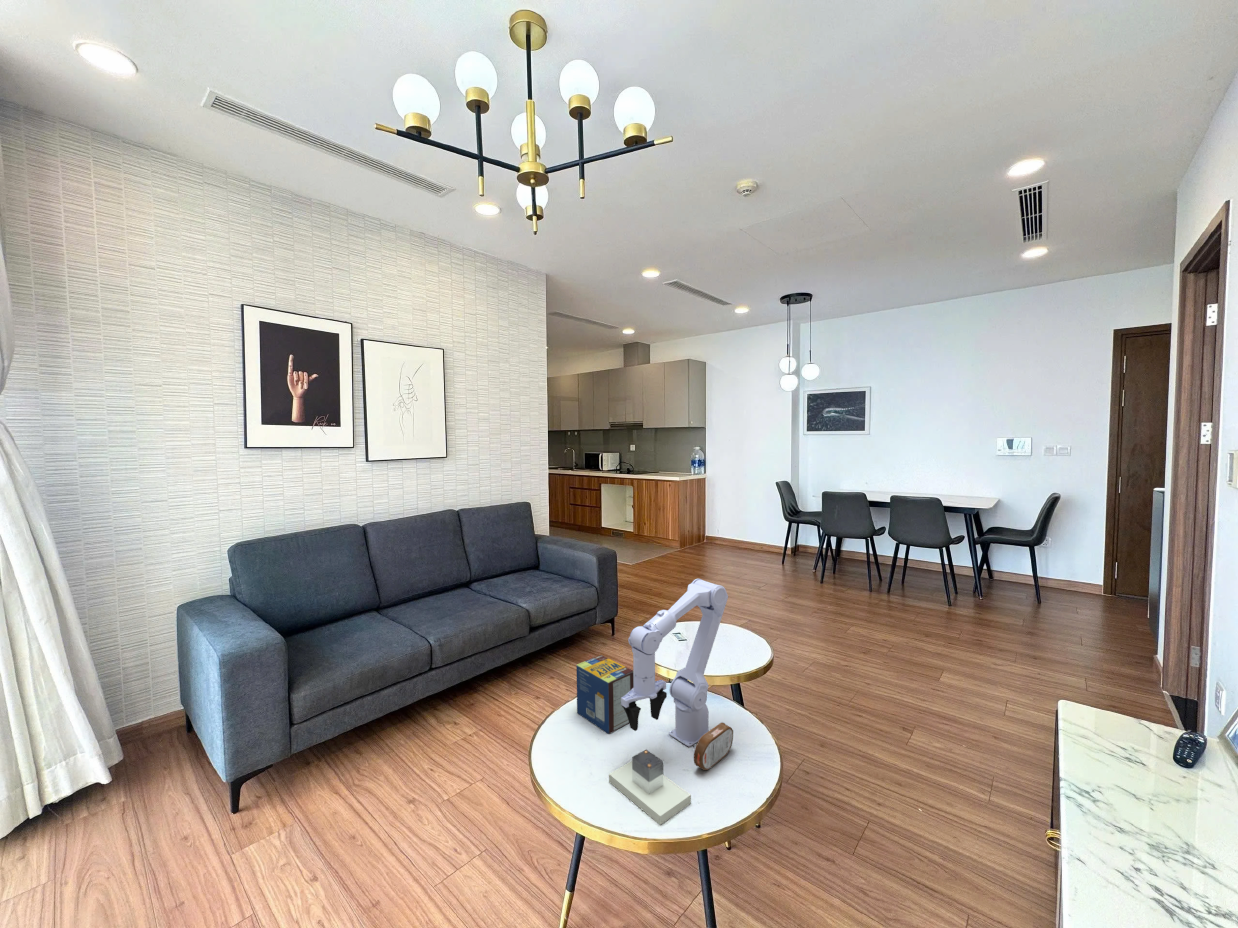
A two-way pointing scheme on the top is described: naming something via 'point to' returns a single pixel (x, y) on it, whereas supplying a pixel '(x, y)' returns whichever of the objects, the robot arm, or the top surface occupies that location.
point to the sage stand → (651, 795)
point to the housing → (647, 771)
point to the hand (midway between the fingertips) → (644, 723)
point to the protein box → (603, 692)
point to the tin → (713, 746)
